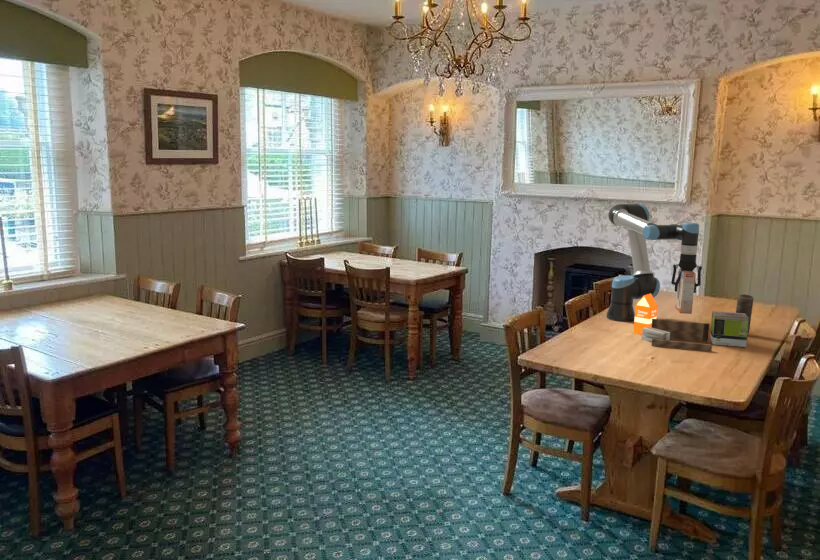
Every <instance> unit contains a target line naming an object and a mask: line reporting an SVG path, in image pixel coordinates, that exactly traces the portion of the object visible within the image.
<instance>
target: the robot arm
mask: <svg viewBox="0 0 820 560" xmlns="http://www.w3.org/2000/svg"><path fill="white" fill-rule="evenodd" d="M650 217H651V216H650V212H649V209H648V207H647V206H645V205H644V204H643V203H642V204H641V203H640V204H639V203H618V204H615V205H614V206H612V207H611V208H610V209H609V210H608V214H607V218H608V220H609V221H610V223H611V224H613V225H615V226H618V227H624V230H625V231H627V233H628V240H629V247H630V254H631V261H632V268H633V273H632V275H619V276H615V277H613V279H612V283H611V294H610V295H611V296H610V305H609V307H608V309H607V312H606V318H607V319H608V318H609V319H608V320H611V319H612V321H616V320H618V321H617V322H631V321H632V320H633V321H634V319H635V309H634V306H633V305H634V300H641V298H642V297H643V296H644V295H647V294H650V293H651V294H652V296H653V298H654V299H655V297H656V298H657V296H658V294H659V293H660V289H661V284H660V281H659V279H658V277H655V274H654V272H652V271H651V269H650V261H649V254H648V247H647V241H661V240H663V241H666V240H667V241H668V240H670V241H671V240H672V241H673V240H677V241H681V244H680V246H681V247H680V254H679V255H680V256H679V262H678V263H676V264H675V263H674V264H673V265H672V267H673V270H672V276H671V284H672V285H674V292H675V300H676V299H678V294H679V285H678V283H679V281H680V279H681V273H682V271H692V272H694V270H695V269H696V270H697V282H696V281H695V284H694V294H696V293H697V287H700V286H701V283H702V282H701V280H702V279H701V275H702V274H701V273H702V269H703V267H702V265H697V253H698V242H699V233H700V225H699V223H697V222H683V224H682V225H681V224H677V223H676V224H675V223H674V224H673V223H670V224H657V223H654V222H651V221H650ZM646 240H647V241H646ZM678 269H681V270H682V271H680V274H679V276H678V275H677V278H676V274H677V270H678ZM676 293H677V294H676ZM633 321H632V322H633Z"/></svg>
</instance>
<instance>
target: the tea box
mask: <svg viewBox="0 0 820 560" xmlns="http://www.w3.org/2000/svg"><path fill="white" fill-rule="evenodd" d="M710 323H711V324H710V334H709V340H710V341H711V342H710V343H711V345H716V346H717V345H718V346H727V345H728V347H730V346H731V347H741V348H747V343H748V342H747V341H748V334H749V333H748V323H749V317H748V316H747V315H746V314H745V313H736V312H731V311H730V312H729V311H717V310H716V311H715V310H714V311H712V312H711V322H710Z"/></svg>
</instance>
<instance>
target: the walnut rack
mask: <svg viewBox="0 0 820 560" xmlns="http://www.w3.org/2000/svg"><path fill="white" fill-rule="evenodd" d="M651 328H655V329H659V330H663V331H667V332H670V341H669V340H659V339H652V342H651V346H652V347H659V346H660V347H661V348H669V347H670V348H671V349H679V348H682V349H681V350H689V349H692V350H691V351H700V350H701V352H710V351H711V352H712V348H713V344H712V343H711V344H708V341H709V335H710V334H709V331H710V323H709V322H708V323H706V322H695V321H694V322H693V321H685V320H684V321H682V320H672V319H671V320H670V319H662V318H659V319H658V318H656V319H652V327H651ZM679 340H681V341H679ZM689 341H691V342H689ZM700 342H701V343H700Z"/></svg>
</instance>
